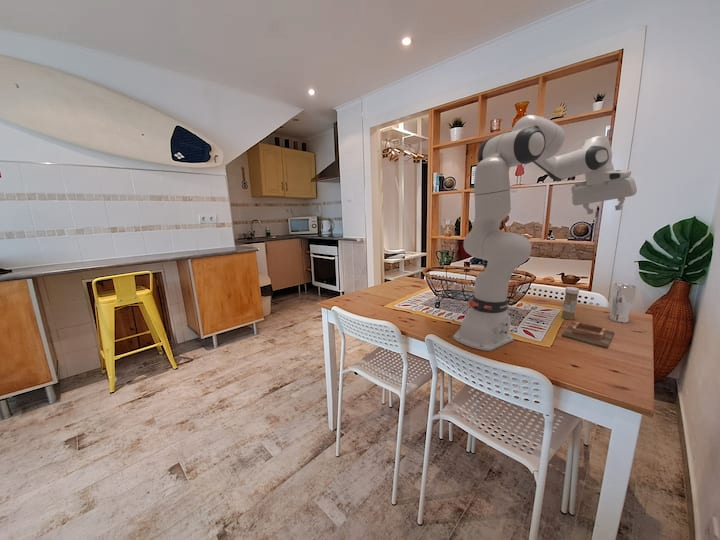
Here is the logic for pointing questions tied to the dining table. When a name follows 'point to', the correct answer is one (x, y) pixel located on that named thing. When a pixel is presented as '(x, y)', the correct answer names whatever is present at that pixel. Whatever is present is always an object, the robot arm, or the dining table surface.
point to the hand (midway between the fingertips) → (604, 211)
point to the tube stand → (588, 334)
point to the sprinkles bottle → (570, 303)
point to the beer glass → (622, 301)
